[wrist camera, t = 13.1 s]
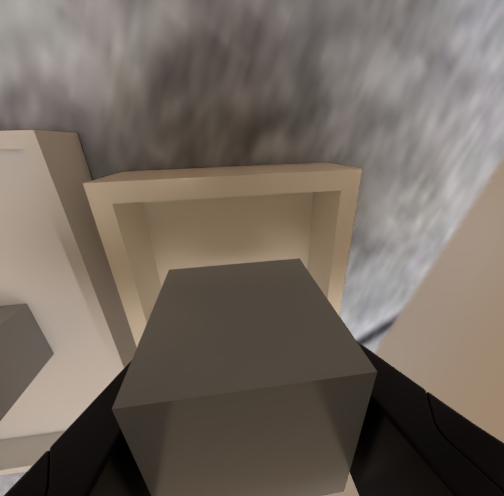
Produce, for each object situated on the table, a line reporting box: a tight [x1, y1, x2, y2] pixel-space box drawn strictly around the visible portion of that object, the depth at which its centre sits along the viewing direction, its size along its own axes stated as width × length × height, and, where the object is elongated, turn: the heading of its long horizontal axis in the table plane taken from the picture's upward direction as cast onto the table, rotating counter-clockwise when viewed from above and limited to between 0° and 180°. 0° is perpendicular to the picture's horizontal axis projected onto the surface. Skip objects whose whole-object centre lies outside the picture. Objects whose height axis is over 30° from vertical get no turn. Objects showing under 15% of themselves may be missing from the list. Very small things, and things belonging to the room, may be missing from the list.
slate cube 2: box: [112, 258, 377, 496], centre depth 6 cm, size 4×4×4 cm
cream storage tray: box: [83, 162, 362, 347], centre depth 13 cm, size 11×14×4 cm
